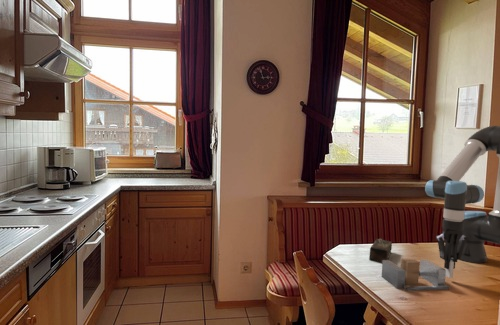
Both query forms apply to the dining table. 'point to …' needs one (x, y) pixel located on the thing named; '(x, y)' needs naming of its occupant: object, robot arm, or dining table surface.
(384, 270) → the vise body
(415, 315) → the dining table surface
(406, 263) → the block
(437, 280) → the block
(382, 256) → the beverage carton
